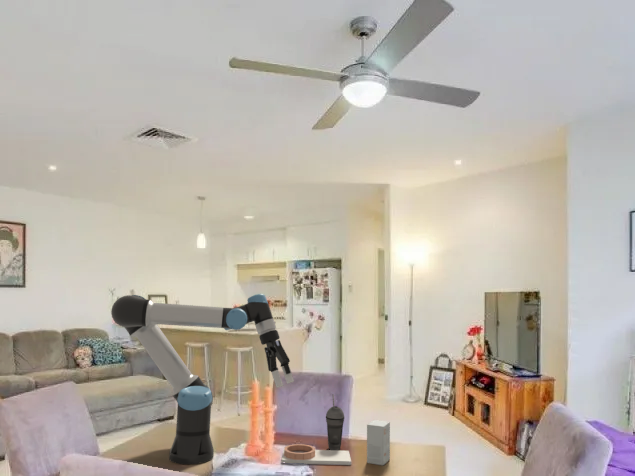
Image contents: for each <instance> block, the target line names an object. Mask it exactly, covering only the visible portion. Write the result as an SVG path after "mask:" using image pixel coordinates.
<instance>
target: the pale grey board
mask: <svg viewBox="0 0 635 476" xmlns="http://www.w3.org/2000/svg"><path fill="white" fill-rule="evenodd" d="M282 462H285V463H304V464H303V465H329V466H331V465H332V466H333V465H335V466H336V465H338V466H352V459H351V455H350V450H341V449H340V450H329V449H315V457H313V458H311V459H306V460H294V459H290V458H287V457H285V456H284V450H283V452H282V458H281V463H282Z"/></svg>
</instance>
